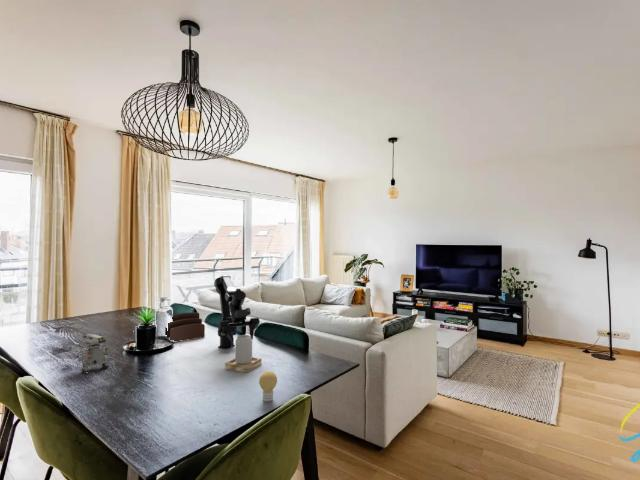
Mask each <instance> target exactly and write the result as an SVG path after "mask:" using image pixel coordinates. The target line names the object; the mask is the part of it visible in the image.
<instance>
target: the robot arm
mask: <svg viewBox="0 0 640 480" xmlns="http://www.w3.org/2000/svg"><path fill="white" fill-rule="evenodd" d="M213 285H214V287H215V292H217V294H218V295H219V301H220V302H219V304H220V311H221V313H220V314H221V321H220V322H219V324H218V328H217V336H218V337H219V346H218V347H217V348H219V349H220V348H221V349H230V348H233V347H236V344H234V343H235V341H234V340H235V339H234V336H236V334H237V328H238V327H239V328H240V327H246V326H248V328H249V329H248V331H249V336H251V339H252V341H253V339H254V334H255V330H256V329H257V328H258V327H259V324H260V322H261V320H260V319H259V317H251V318H249V321H248V320H247V317H248V316H250V315H251V314H252V313H251V312H252V311H251V308H250V307H246V308H245V309H243V305H244V302H245V300H246V297H247V294H246V293H245V291H243V290H241V288H238V287H235V285H234V283H233V281H232V278H231V275H229V274H228V275H225V274H224V275H223V274H222V275H221V276H220V277H219V276H218V277H217V278H216V279H215V280H214V282H213ZM246 320H247V321H246Z"/></svg>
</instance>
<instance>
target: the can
mask: <svg viewBox="0 0 640 480" xmlns="http://www.w3.org/2000/svg"><path fill="white" fill-rule="evenodd" d="M234 347H235V349H234V350H235V355H234V358H235V362H236V363H237V364H239V365H247V364H249V363H250V362H251V361H252V357H253V340H252V339H251V336H250V334H249V335H248V334H240V335H238V336H236V339H235V346H234Z"/></svg>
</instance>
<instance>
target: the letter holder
mask: <svg viewBox="0 0 640 480" xmlns="http://www.w3.org/2000/svg"><path fill="white" fill-rule="evenodd" d="M172 315H173V317H172V319H173V322H170V323H168V331H167V328H166V327H165V326H164V336H165V335H167V337H170V340H174V341H177V342H181V341H180V340H183V341H188V340H187V339H189V340H194V338H195V339H199V338H200V337H201V338H205V337H206V335H205V334H206V332H205V331H206V328H205V327H206V326H205V324H204V323H203V319H202V318H200V313H199V312H192V311H191V312H181V313H176V314H175V313H174V314H172Z"/></svg>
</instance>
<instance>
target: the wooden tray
mask: <svg viewBox="0 0 640 480" xmlns="http://www.w3.org/2000/svg"><path fill="white" fill-rule="evenodd" d="M224 365H225V366H224V369H225V370H231V371H237V372H242V373H249V372H250V371H252V370H254V369H256V368H257V367H259V366H260V365H262V358H261V357H255V356H254V357H253V356H252V361H251V362H250V363H249V364H247V365H239V364H237V363H236V362H235V357H234V358H232V359H230V360H229V361H226V362H225V363H224Z"/></svg>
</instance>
